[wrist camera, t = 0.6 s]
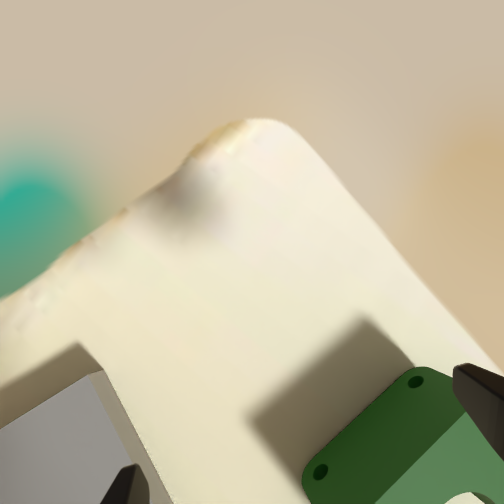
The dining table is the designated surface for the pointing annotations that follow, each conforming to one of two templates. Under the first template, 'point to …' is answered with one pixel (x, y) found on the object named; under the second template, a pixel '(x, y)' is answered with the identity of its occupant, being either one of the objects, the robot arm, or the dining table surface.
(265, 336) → the dining table surface
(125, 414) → the socket block
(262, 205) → the dining table surface
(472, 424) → the clamp
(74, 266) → the dining table surface
